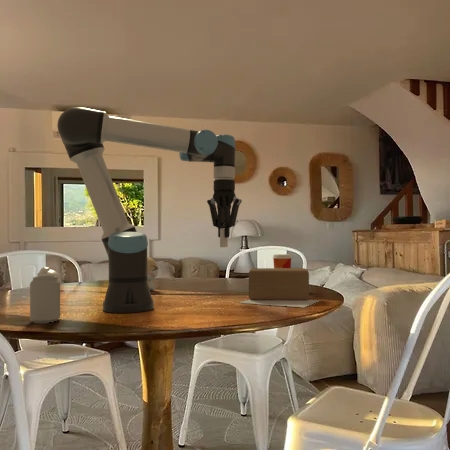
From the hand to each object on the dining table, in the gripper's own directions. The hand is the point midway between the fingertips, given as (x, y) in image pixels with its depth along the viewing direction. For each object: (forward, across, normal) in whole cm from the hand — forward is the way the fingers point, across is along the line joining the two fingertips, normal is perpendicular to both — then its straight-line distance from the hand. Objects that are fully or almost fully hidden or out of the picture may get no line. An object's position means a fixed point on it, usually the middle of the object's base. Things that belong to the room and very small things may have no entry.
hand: (223, 247), depth 166 cm
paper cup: (+18, -9, -32) cm, 37 cm away
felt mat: (+18, -21, -1) cm, 28 cm away
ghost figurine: (+19, +73, +14) cm, 76 cm away
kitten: (+19, +39, -5) cm, 43 cm away
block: (+13, -9, -2) cm, 15 cm away
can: (+19, +21, +58) cm, 64 cm away
